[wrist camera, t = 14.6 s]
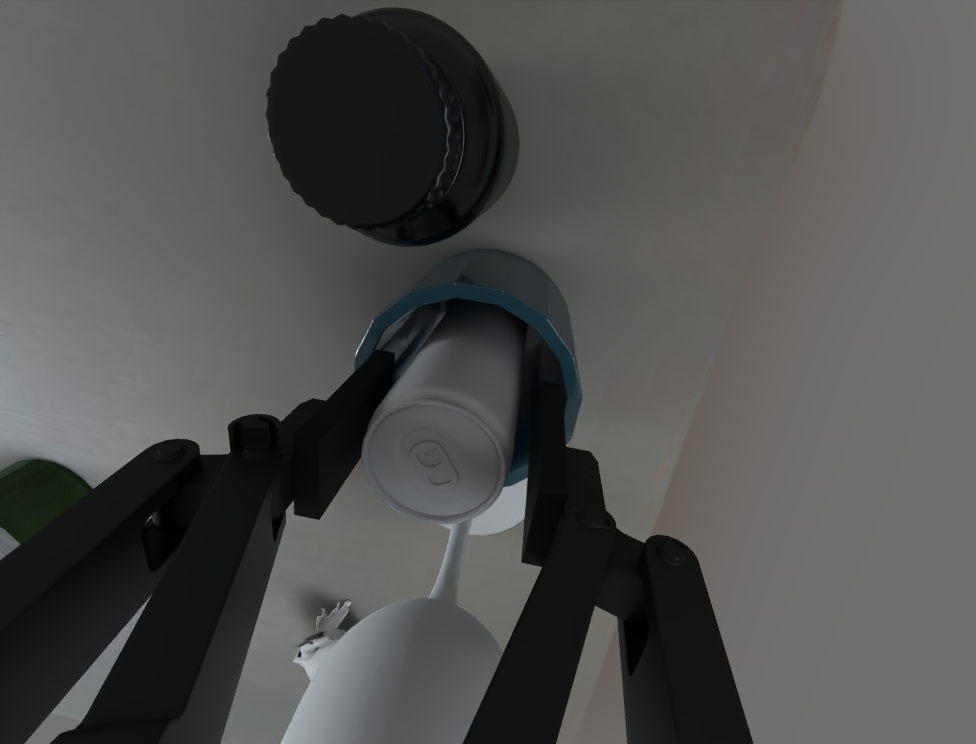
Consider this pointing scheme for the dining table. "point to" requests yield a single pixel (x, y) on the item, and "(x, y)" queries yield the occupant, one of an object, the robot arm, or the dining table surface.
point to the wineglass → (410, 660)
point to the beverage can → (450, 418)
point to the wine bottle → (34, 499)
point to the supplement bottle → (391, 125)
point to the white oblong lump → (321, 639)
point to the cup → (513, 290)
